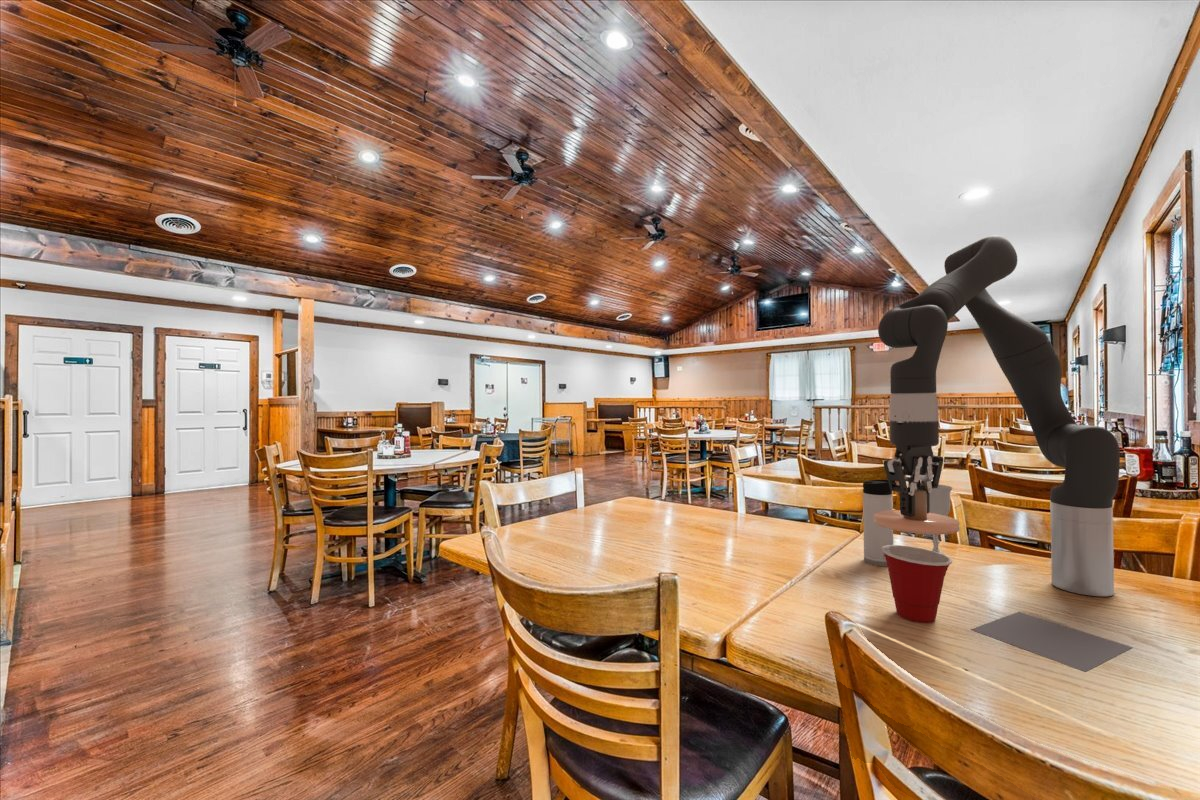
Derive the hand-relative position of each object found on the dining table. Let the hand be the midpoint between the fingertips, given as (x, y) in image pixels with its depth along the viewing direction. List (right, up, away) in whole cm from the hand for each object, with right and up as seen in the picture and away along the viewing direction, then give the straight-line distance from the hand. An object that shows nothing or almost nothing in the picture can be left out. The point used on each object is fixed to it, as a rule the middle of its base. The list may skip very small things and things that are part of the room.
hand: (914, 513), depth 92 cm
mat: (+16, -18, -9) cm, 26 cm away
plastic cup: (0, -19, 0) cm, 19 cm away
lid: (0, -2, 0) cm, 2 cm away
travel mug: (+10, -19, +30) cm, 37 cm away
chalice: (+24, -18, +30) cm, 42 cm away
